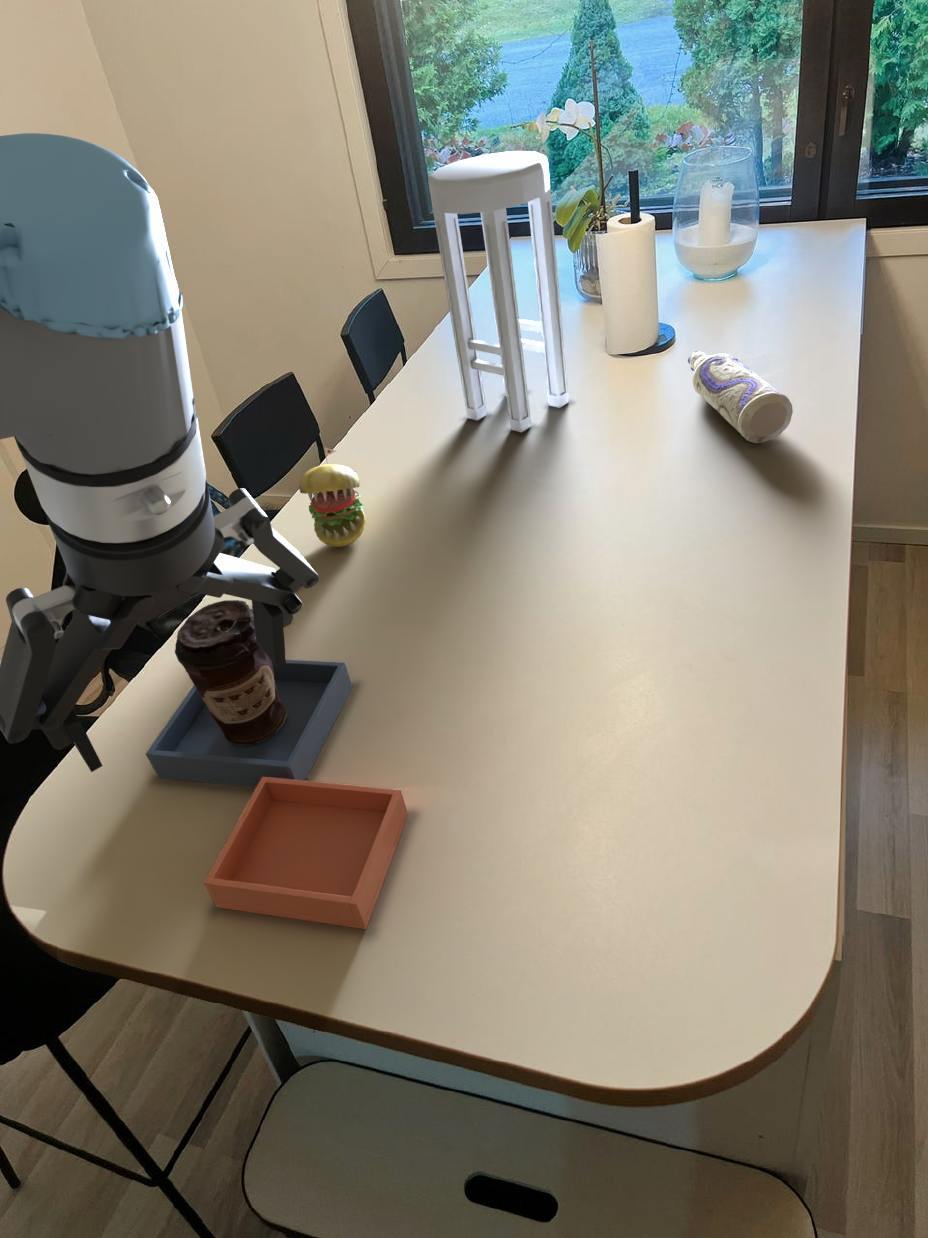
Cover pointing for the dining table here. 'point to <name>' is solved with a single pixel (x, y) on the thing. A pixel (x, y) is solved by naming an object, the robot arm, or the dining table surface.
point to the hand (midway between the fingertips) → (183, 700)
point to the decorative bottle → (740, 396)
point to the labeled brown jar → (231, 671)
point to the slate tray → (290, 753)
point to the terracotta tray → (309, 851)
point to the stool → (501, 275)
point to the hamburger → (334, 503)
